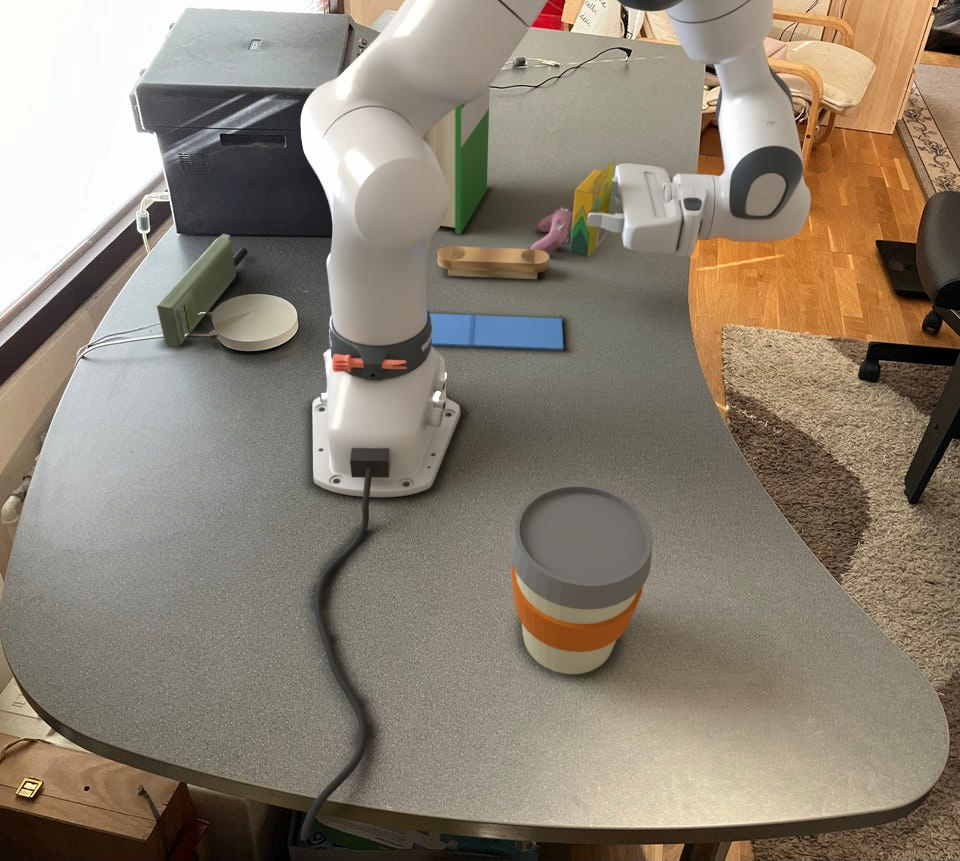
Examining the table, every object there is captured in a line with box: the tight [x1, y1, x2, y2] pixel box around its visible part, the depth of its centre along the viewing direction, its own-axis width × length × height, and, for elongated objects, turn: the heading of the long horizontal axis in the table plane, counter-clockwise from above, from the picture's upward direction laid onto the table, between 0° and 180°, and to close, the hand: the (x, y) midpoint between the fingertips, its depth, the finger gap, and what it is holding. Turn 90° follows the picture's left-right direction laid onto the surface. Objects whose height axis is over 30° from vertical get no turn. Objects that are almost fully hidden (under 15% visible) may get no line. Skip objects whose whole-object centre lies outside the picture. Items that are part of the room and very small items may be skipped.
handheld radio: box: [156, 233, 249, 348], centre depth 128 cm, size 7×3×25 cm
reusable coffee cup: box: [509, 483, 653, 675], centre depth 81 cm, size 13×13×15 cm
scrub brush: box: [436, 245, 550, 280], centre depth 137 cm, size 18×4×3 cm, turn 88°
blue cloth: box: [429, 312, 564, 351], centre depth 125 cm, size 8×20×1 cm, turn 88°
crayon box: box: [569, 160, 615, 259], centre depth 121 cm, size 7×3×12 cm, turn 152°
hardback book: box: [423, 85, 491, 235], centre depth 146 cm, size 18×7×24 cm, turn 165°
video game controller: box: [530, 206, 573, 255], centre depth 143 cm, size 10×5×7 cm, turn 169°
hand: (585, 202), depth 121 cm, fingers closed on crayon box, 7 cm apart
